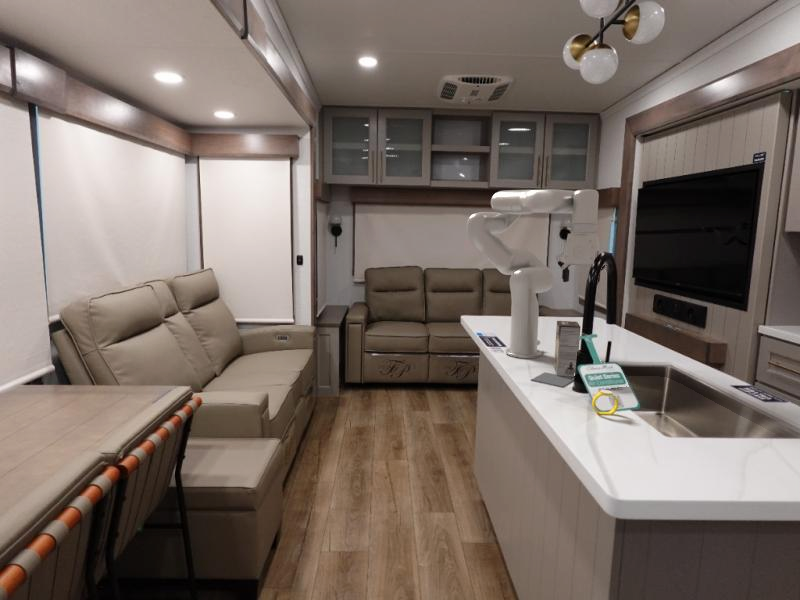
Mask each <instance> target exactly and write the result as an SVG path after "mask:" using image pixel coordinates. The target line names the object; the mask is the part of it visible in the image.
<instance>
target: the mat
mask: <svg viewBox="0 0 800 600" xmlns="http://www.w3.org/2000/svg"><path fill="white" fill-rule="evenodd" d="M573 378H574V377H569V376H557V375H556V373H550V372H542V373H541V374H539V375H537V376H535V377H532V378H531V379H530V381H532V382H536V383H542V384H545V385H548V386H549V385H550V386H554V387H555V386H556V387H559V388H564V387H566V386H568V385H569V384H571V383H572V382H574V381H573Z"/></svg>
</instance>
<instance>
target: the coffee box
mask: <svg viewBox="0 0 800 600" xmlns="http://www.w3.org/2000/svg"><path fill="white" fill-rule="evenodd" d="M555 333H556V334H555V345H554V346H555V347H554V362H553V364H554V365H553V368H554V372H555V374H556V375H557V376H566V377H571V378H575V377H574V373H575V364H576V353H577V351H580V340H581V339H578V337H579V336H580V337H581V325H580V324H579V322H578V321H570V320H556V329H555Z"/></svg>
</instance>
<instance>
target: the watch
mask: <svg viewBox="0 0 800 600" xmlns="http://www.w3.org/2000/svg"><path fill="white" fill-rule="evenodd" d="M602 396H605V397H611V396H612V398H613V399H614V406H613V408H612V409H611V410H609V411H598V410H597V408H596V402H597V400H598V399H599V398H600V397H602ZM618 400H619V399H618V398H617V397H616V395H614V393H613V391H611V390H608V389H601V390H599V392H598V393H596V394H595V395H594V397H592V401H591V406H592V409H593V410H594V411H595V413H597V414H598V415H601V416H602V415H603V416H604V415H605V416H612V415H613V414H614V413H616V411H618V410H617V409H618V408H619V401H618Z"/></svg>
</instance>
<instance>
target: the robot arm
mask: <svg viewBox="0 0 800 600" xmlns="http://www.w3.org/2000/svg"><path fill="white" fill-rule="evenodd" d="M599 197H600V196H599V191H597V190H596V189H590V188H589V189H587V188H586V189H577V190H571V189H570V190H568V189H567V190H566V189H557V188H556V189H548V188H547V189H512V190H511V189H509V190H499V191H497V192H495V193H494V194H493V195H492V197H491V199H490V206H491V208H492V210H493V211H479V212H475V213H473V214H471V215H470V216H469V218H468V219H467V222H466V232H467V233H466V234H467V236H468V239H469V241H470V243H471V244H472V245H473V246H474V248H476V249H477V250H478V252H480V253H481V254H483V256H484V257H485V258H486V259H487V261H489V262H490V263H491V265H493V266H494V268H496V269H497V270H498V271H499V272H500V273H501V274H503V275H505V276H510V277H509V288H510V297H511V308H510V310H511V311H510V312H511V313H510V316H511V317H510V340H509V342H510V343H509V347H508V348H506V349H505V354H506V355H507V354H508V355H507V356H509V355H510V356H509V357H512V356H513V358H517V357H518V358H519V359H537V358H540V357H541V356H542V351H541V350H539V349H538V346H539V345H540V344H541V341H540V340H539V339H538V337H539V335H538V333H539V315H540V314H539V311H540V310H539V307H540V306H539V300H538V298H537V294H541V293H544V292H545V293H546V292H548V291H549V290H550V289H552V288H553V286H554V282H555V278H554V274H553V272H552V271H551V269H550V268H549V267H548V266H547V265H546V264H545V263H544V262H543V261H541V259H539V258H538V257H537V256H536V255H535V254H534V253H533V252H531V251H529V250H528V249H525V248H511V247H510V246H508V245H507V244H506V243H504V241H503V240H502V239H500V238H499V237H498V236H496V235H500V234H503V233H505V232H507V231H508V229H510V228H511V227H512V226H513V224H515V223H516V221H518V219H519V218H520V217H522V215H531V214H569V215H571V223H570V225H567V228H566V229H567V230H569V231H570V233H567V237H566V241H565V242H566V243H565V245H564V246H565V247H564V251H563V252H561V253H558V254H557V255H555V257H554V258H555V260H556V262H557V265H558V266H559V267H560V269H561V270H562V271H561V272H562V273H561V274H562V275H561V279H562V282H563V283H568V282H570V266H584V267H585V266H586V267H588V266H589V267H590V266H591V267H592V265H593V263H594V260H595V258H596V257H597V256H598V255H599V254H600V253H601V250H600V239H599V238H600V237H599V233H597V228H598V227H597V225H598V224H597V223H598V214H599V213H598V211H599ZM562 258H563V260H562ZM605 268H607V266H606V265H604V266H603V267H602V269H601V272H602V271H603V270H604V269H605ZM600 280H601V273H600V274H599V278H598V283H597V284H596V285H598V284H599V283H600Z"/></svg>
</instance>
